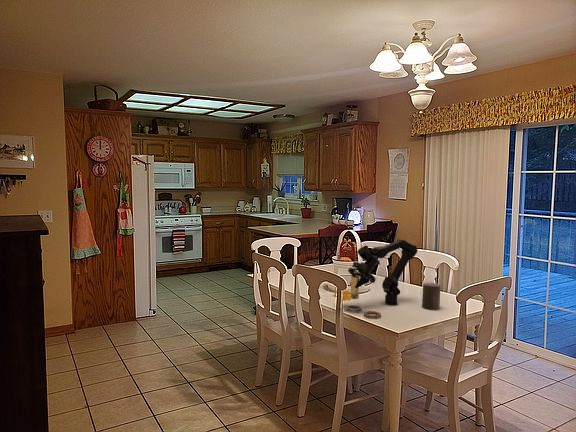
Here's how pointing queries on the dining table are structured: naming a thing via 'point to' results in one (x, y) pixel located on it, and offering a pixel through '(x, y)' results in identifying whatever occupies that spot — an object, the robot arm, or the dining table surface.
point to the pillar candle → (431, 296)
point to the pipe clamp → (345, 295)
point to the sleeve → (354, 290)
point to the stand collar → (376, 316)
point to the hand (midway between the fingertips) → (352, 286)
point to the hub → (359, 309)
